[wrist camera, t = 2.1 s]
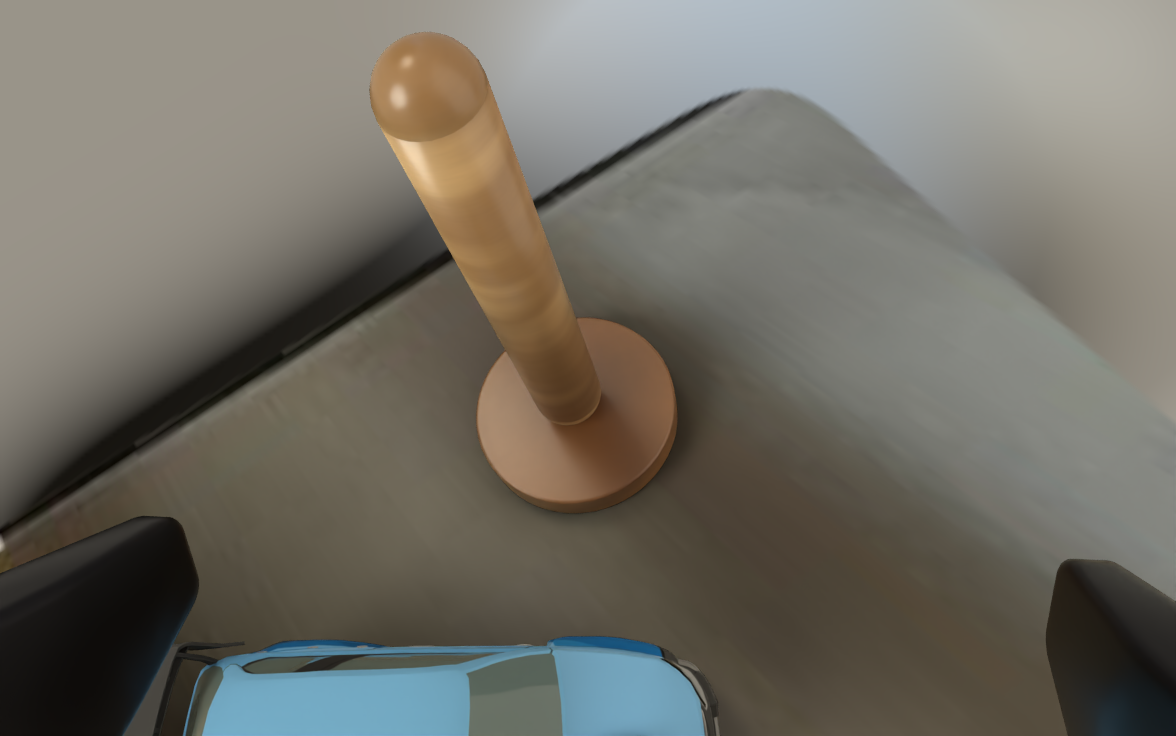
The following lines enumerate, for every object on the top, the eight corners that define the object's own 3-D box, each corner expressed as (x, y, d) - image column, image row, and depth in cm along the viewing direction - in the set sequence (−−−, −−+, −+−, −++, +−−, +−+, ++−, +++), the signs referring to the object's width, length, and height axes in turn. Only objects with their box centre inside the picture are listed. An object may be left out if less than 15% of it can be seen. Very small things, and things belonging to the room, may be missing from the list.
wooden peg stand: (563, 556, 23) (349, 289, 10) (448, 414, 25) (164, 64, 13) (719, 423, 24) (688, 34, 11) (593, 298, 26) (455, -131, 14)
